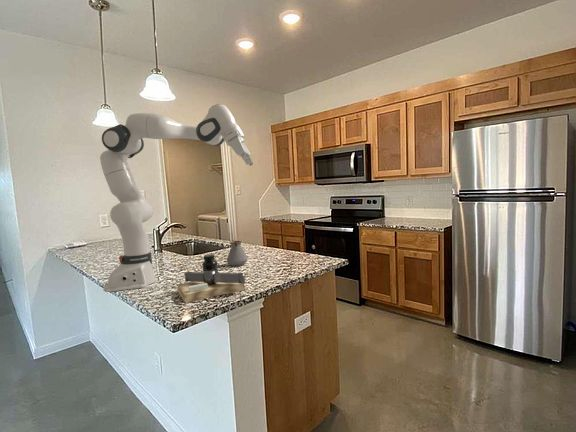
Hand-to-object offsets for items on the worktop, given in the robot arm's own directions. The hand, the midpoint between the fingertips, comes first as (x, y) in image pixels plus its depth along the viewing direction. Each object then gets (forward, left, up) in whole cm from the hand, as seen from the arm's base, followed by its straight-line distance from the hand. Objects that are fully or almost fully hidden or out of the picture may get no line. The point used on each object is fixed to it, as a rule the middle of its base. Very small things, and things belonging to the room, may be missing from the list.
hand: (250, 164), depth 147 cm
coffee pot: (-1, +28, -52) cm, 59 cm away
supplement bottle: (-20, +10, -52) cm, 57 cm away
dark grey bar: (-22, -7, -49) cm, 54 cm away
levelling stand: (-24, -5, -52) cm, 58 cm away
